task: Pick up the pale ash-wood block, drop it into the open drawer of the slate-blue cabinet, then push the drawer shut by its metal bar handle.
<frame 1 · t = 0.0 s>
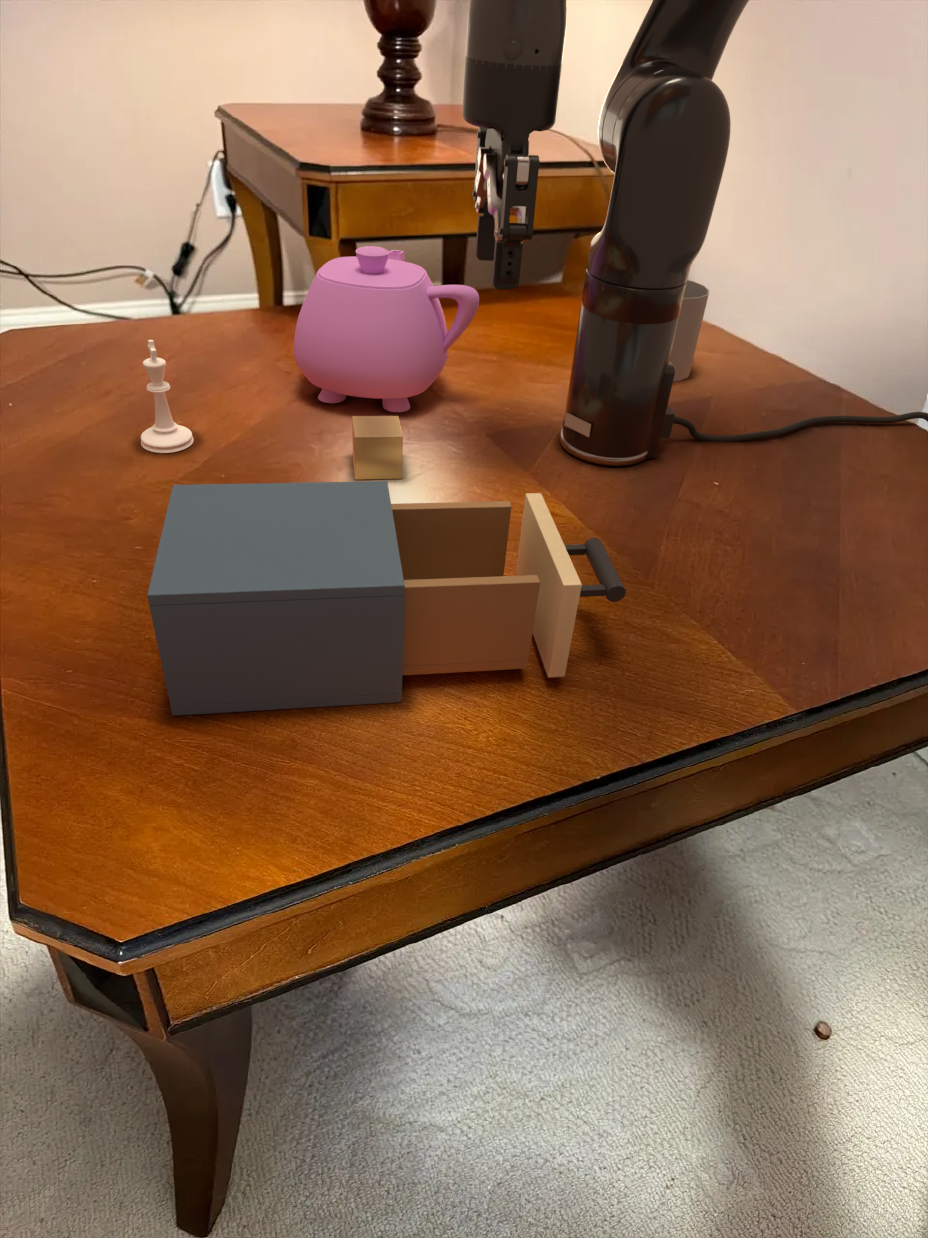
hand: (495, 272, 75), 17 cm above the table, tool pointing down, fingers open, 8 cm apart
cup: (656, 370, 106), on the table
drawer: (488, 584, 58), point 5 cm above the table, slide at 10.0 cm
teapot: (390, 385, 96), on the table
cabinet: (290, 646, 59), on the table
chess piece: (167, 443, 82), on the table
block: (377, 468, 80), on the table
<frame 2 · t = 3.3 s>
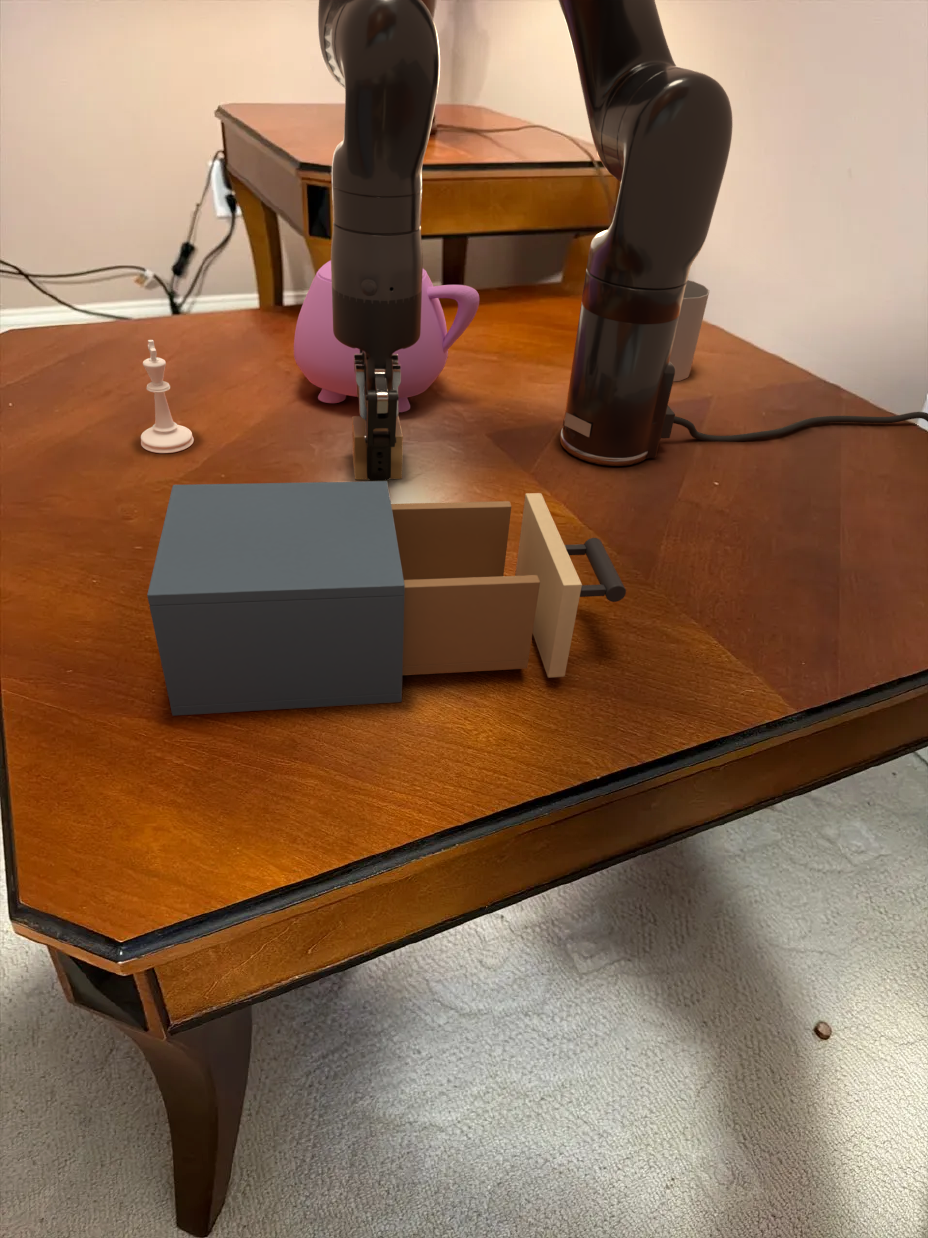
hand: (376, 465, 80), 0 cm above the table, tool pointing down, fingers closed on block, 4 cm apart
block: (377, 468, 80), on the table, touching gripper
everything else where it was.
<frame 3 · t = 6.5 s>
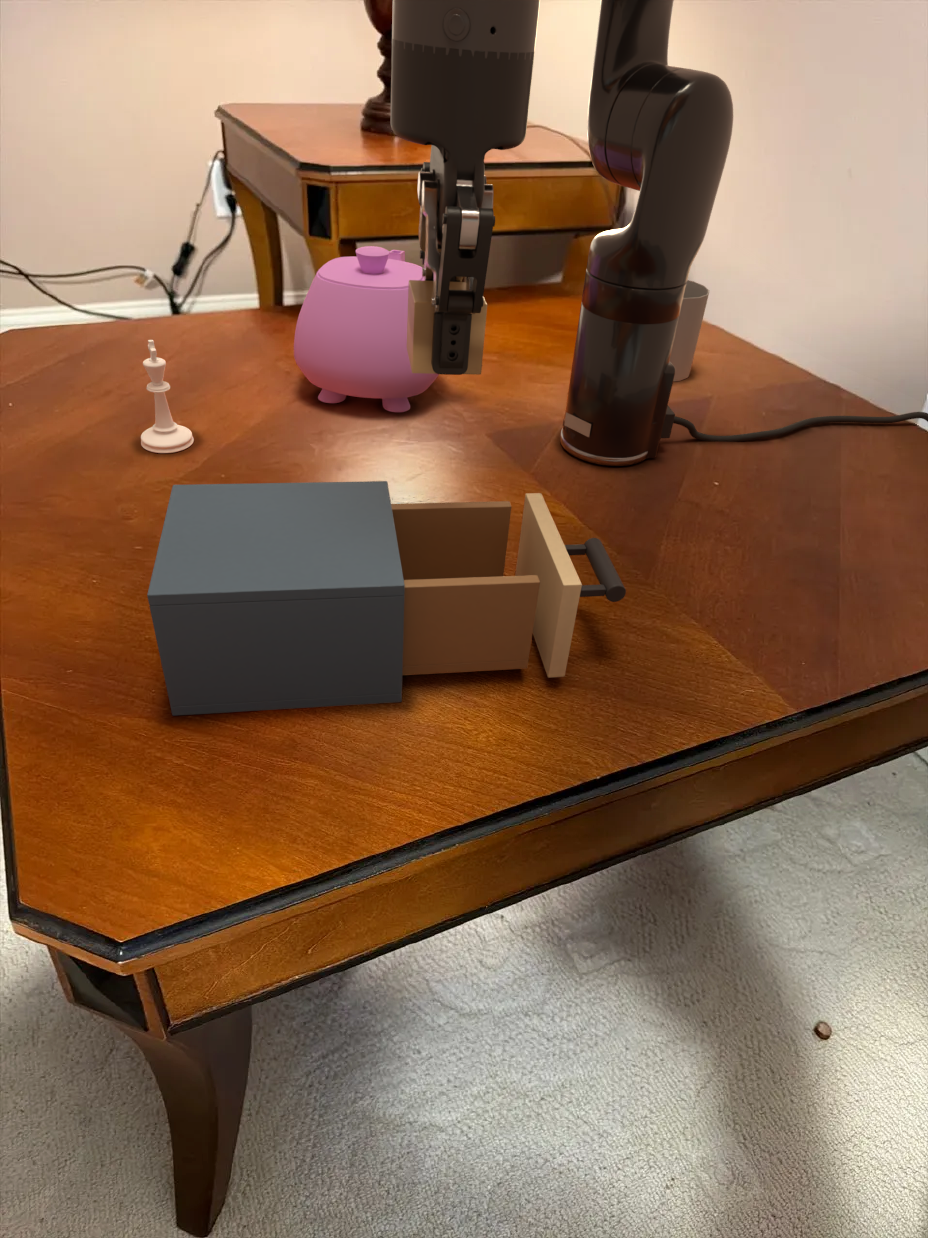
hand: (444, 355, 54), 19 cm above the table, tool pointing down, fingers closed on block, 4 cm apart
block: (442, 361, 54), point 18 cm above the table, touching gripper
everything else where it was.
when the fingers open (8 cm above the table, at t = 9.8 s): block drops 5 cm, resting on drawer.
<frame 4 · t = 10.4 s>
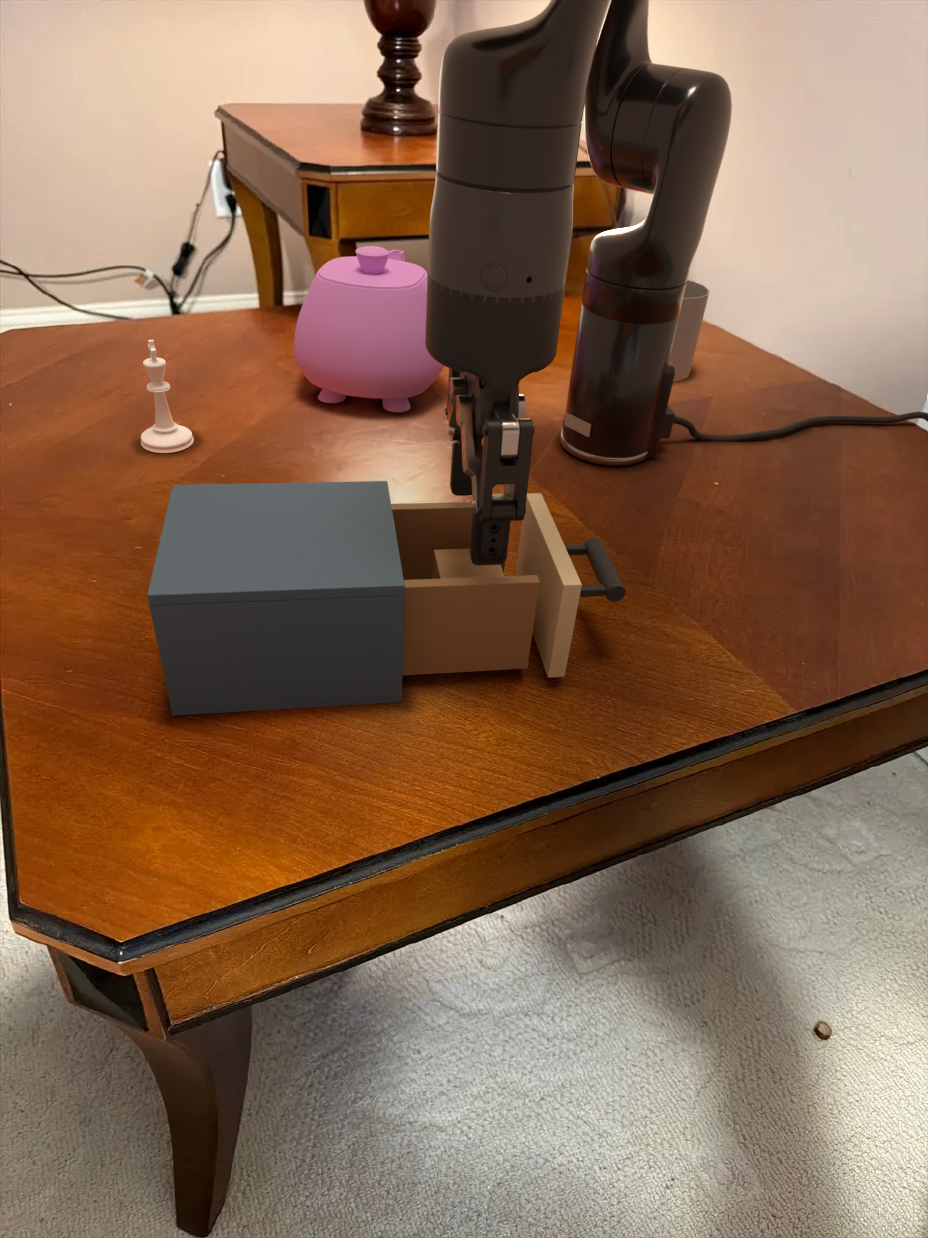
hand: (475, 525, 55), 10 cm above the table, tool pointing down, fingers open, 8 cm apart
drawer: (488, 584, 58), point 5 cm above the table, slide at 10.0 cm, touching block
block: (465, 616, 60), point 2 cm above the table, touching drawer
everything else where it was.
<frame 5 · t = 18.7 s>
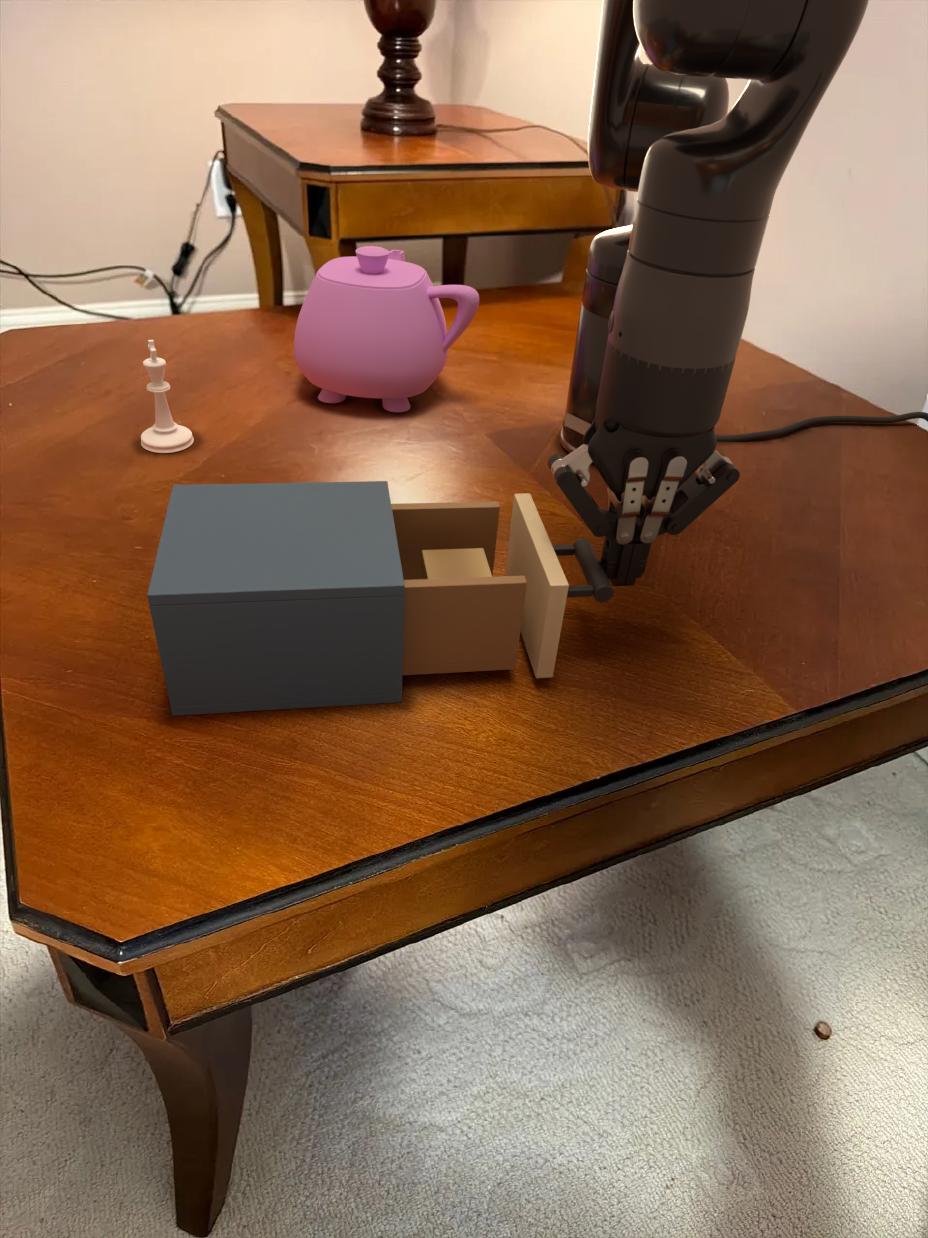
hand: (619, 579, 60), 5 cm above the table, tool pointing down, fingers closed
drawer: (476, 584, 58), point 5 cm above the table, slide at 9.1 cm, touching block, gripper
everything else where it was.
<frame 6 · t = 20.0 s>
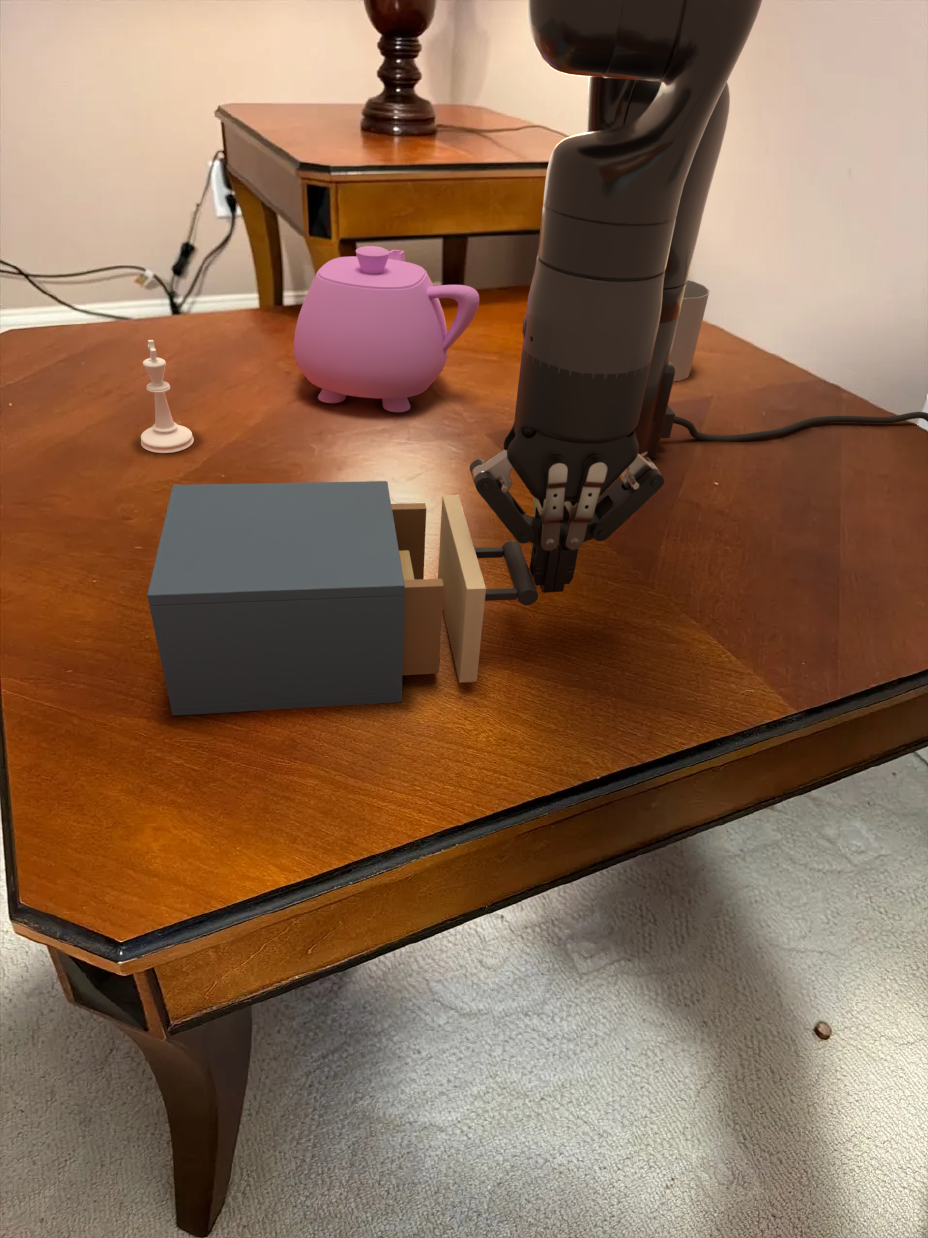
hand: (549, 585, 59), 5 cm above the table, tool pointing down, fingers closed
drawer: (401, 587, 57), point 5 cm above the table, slide at 3.9 cm, touching block, gripper
block: (379, 620, 59), point 2 cm above the table, touching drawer
everything else where it was.
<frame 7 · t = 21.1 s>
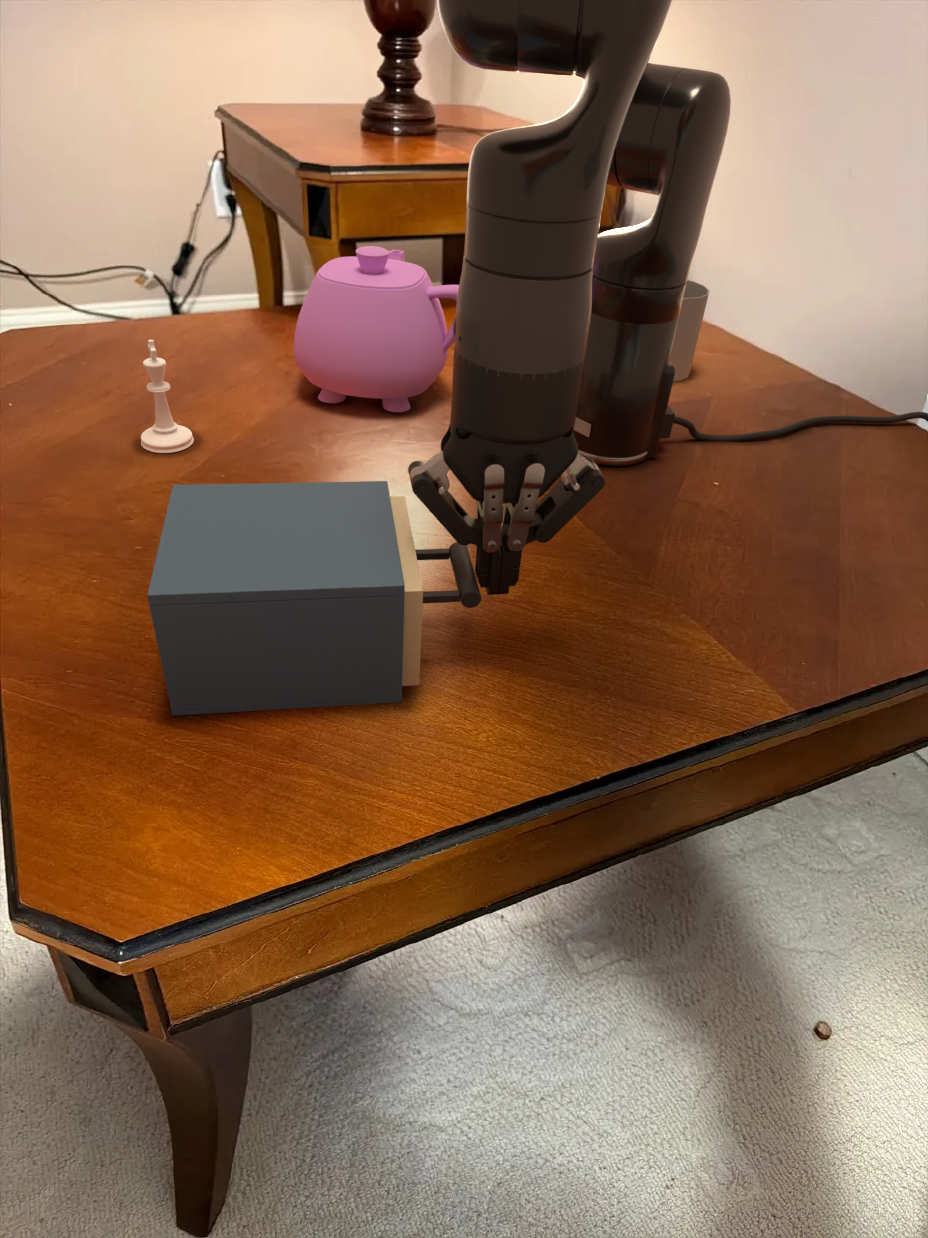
hand: (495, 587, 58), 5 cm above the table, tool pointing down, fingers closed
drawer: (344, 589, 57), point 5 cm above the table, slide at 0.0 cm, touching block, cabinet, gripper
block: (323, 622, 58), point 2 cm above the table, touching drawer
everything else where it was.
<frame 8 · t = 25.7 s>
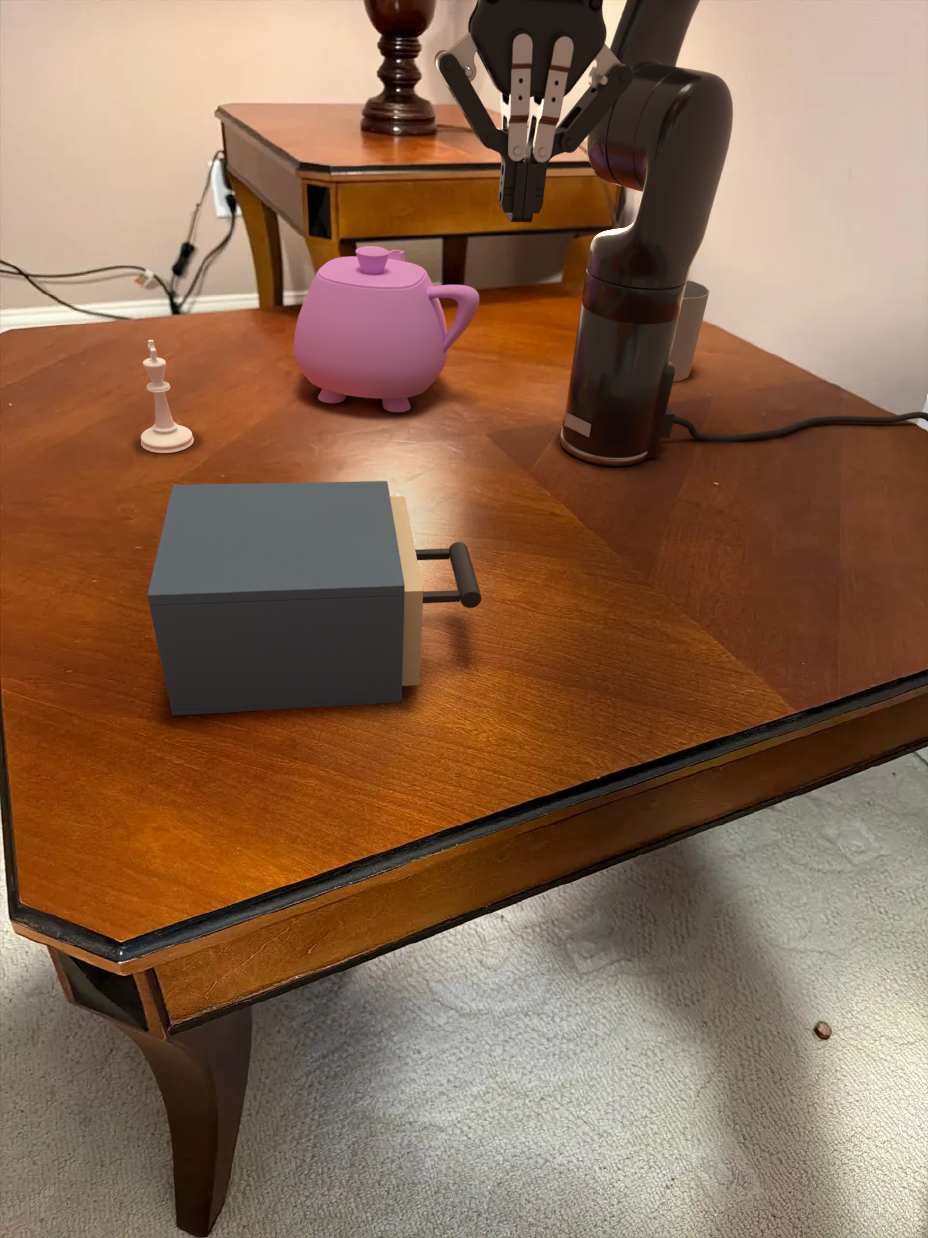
hand: (519, 219, 58), 25 cm above the table, tool pointing down, fingers closed
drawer: (344, 589, 57), point 5 cm above the table, slide at 0.0 cm, touching block, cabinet
everything else where it was.
at the end: block inside the target area in the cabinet (1.9 cm from its centre), point 2.0 cm above the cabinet's base; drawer slide at 0.0 cm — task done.
